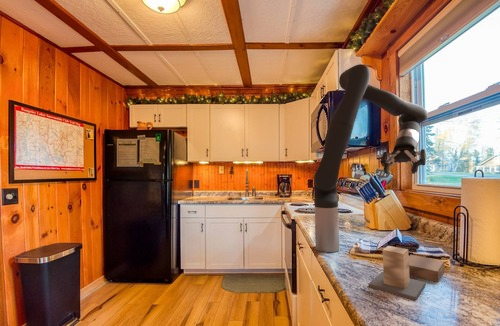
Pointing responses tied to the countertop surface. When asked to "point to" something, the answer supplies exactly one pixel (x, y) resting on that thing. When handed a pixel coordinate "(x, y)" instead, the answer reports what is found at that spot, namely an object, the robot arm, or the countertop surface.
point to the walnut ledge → (426, 268)
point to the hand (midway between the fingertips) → (399, 172)
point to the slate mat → (409, 292)
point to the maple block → (396, 266)
